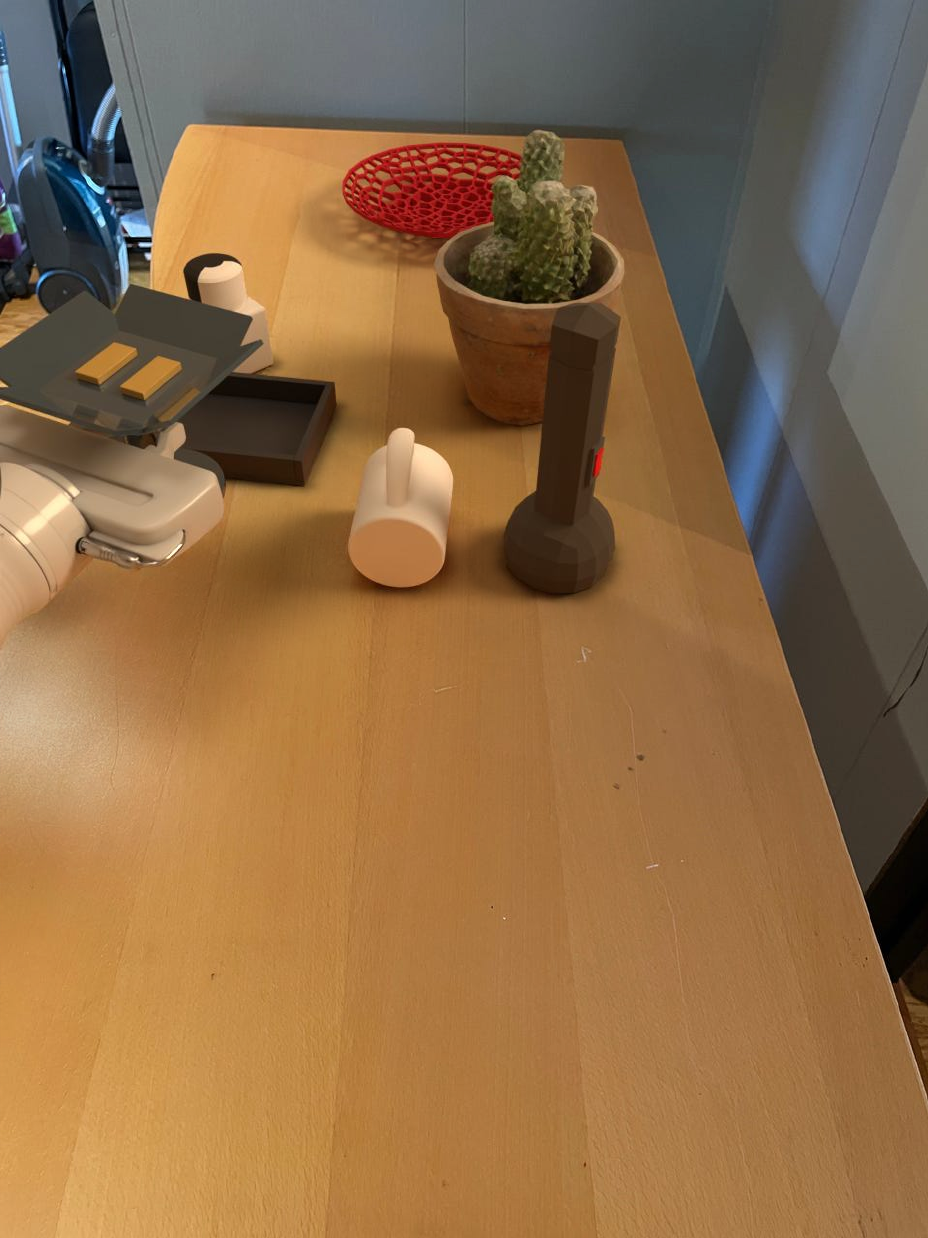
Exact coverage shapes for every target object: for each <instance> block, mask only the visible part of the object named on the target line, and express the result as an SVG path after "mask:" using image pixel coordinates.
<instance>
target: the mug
mask: <svg viewBox="0 0 928 1238" xmlns="http://www.w3.org/2000/svg"><path fill="white" fill-rule="evenodd" d="M453 488H454V475H453V472H452V468H451V467H450V464H449V463H448V462H447V461H446V460H445V458H444V457H443V456H442V455H441V454H439V453H438V452H437V451H435V450H434V449H432V448H430V447H428V446H426V445H423V444H420V443H416V442H415V433H414V431H413V430H412V429H410V428H407V427H398V428H396V429H394V430H393V431H392V432H391V433H390V434H389V436H388V439H387V442H386V445H384V446H382V447H380V448H379V449H377V450H376V451H375V452H373V454H371V455H370V456H369V458H368V459H367V461H366V463H365V466H364V469H363V474H362V477H361V483H360V487H359V492H358V495H357V496H358V497H357V501H356V506H355V510H354V515H353V519H352V523H351V528H350V533H349V538H348V541H347V542H348V543H347V551H348V556H349V559H350V561H351V563H352V564H353V566H354V567H355V568H356V569H357V571H358V572H359V573H361V575H363V576H364V577H366V578H367V579H369V580H370V581H372V582H375V583H377V584H379V585H383V586H387V587H393V588H410V587H415V586H416V587H417V586H420V585H422V584H425V583H427V582H429V581H430V580H432V579H433V578H435V576H436V575H437V574H439V572H440V571H441V569H442V568H443V565H444V563H445V558H446V551H447V541H448V533H449V525H450V516H451V507H452V499H453V491H454V490H453Z"/></svg>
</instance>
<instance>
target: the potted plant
mask: <svg viewBox="0 0 928 1238" xmlns="http://www.w3.org/2000/svg"><path fill="white" fill-rule="evenodd" d="M565 147H566V144H565V143H564V142H563V140H562V139H561V138H560V137H559V136H558V135H556V134H555V133H554V132H553V131H546V130H542V129H535V130H533V131H532V132H530V133H529V134H528V135H527V136H526V137H525V140H524V142H523V146H522V149H523V150H522V153H521V154H520V155H521V158H522V163H520V162H519V165H520V168H521V169H520V170H519V173H520V176H519V178H518V179H516V180H514V179H512V178H510V177H509V176H504V175H501V176H498V178H497V179H496V180H495V182H493V183H494V184H493V185H492V191H491V192H493V194H494V199H493V200H492V205H491V210H492V212H493V219H494V222H490V223H486V224H483V225H479V226H476V227H472V228H470V229H467V230H465V231H462V232H459V233H458V234H457V235H455V236H454V237H453V238H449V239H447V241H446V242H445V243H444V244H443V245H442V246H441V247H440V248H439V250H438V251H437V252H436V257H435V260H434V264H433V267H434V271H435V274H436V284H437V289H438V294H439V300H440V305H441V308H442V312H443V313H444V315H445V316H446V317H447V318H448V324H449V330H450V334H451V338H452V341H453V345H454V348H455V349H454V350H455V352H456V356H457V359H458V363H459V366H460V370H461V373H462V377H463V381H464V384H465V387H466V392H467V395H468V399H469V400H470V401H471V403H472V404H473V405H474V406H475V408H476V409H477V410H479V411H480V412H481V413H483V414H484V415H485V416H487V417H488V418H490V419H492V420H493V421H496V422H498V423H503V424H506V425H516V426H519V427H523V426H526V425H533V424H537V423H542V422H543V412H544V401H545V391H546V380H547V369H548V359H549V355H550V352H551V350H549V348H550V337H551V327H552V323H553V320H554V317H555V315H556V312H557V309H558V308H559V307H562V306H566V305H569V304H572V303H602V304H603V305H605V306H606V307H608V308H609V309H610V310H612V311H613V312H614V310H615V307H616V305H617V302H618V298H619V295H620V291H621V287H622V286H621V285H622V281H623V279H624V276H625V274H626V273H625V260H624V258H623V256H622V255H621V253H620V252H619V251H618V249H617V247H616V246H614V244H612V243H611V242H609V240H607V239H606V238H605V237H604V236H602V235H600V234H598V233H596V232H594V224H593V221H594V220H595V218H596V216H597V214H598V211H599V207H598V206H597V205H598V202H597V199H598V195H597V193H596V190H595V188H594V186H590V185H583V184H576V185H573V186H572V187H571V186H570V188H565V186H564V182H562V180H563V179H562V178H563V173H564V172H563V169H564V162H565V154H566V153H565V152H566V151H565Z"/></svg>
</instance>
